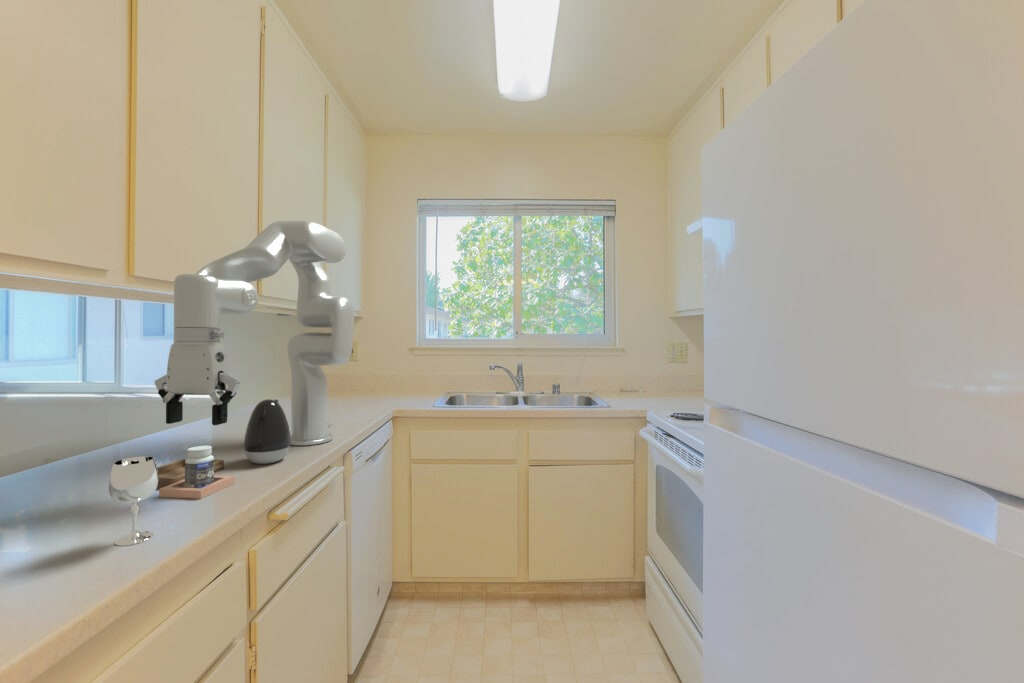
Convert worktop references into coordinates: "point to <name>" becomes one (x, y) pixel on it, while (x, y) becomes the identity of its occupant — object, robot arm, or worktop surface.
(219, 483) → the frame
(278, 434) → the pump dispenser
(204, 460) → the pill bottle
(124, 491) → the wineglass
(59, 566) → the worktop surface
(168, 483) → the tray
